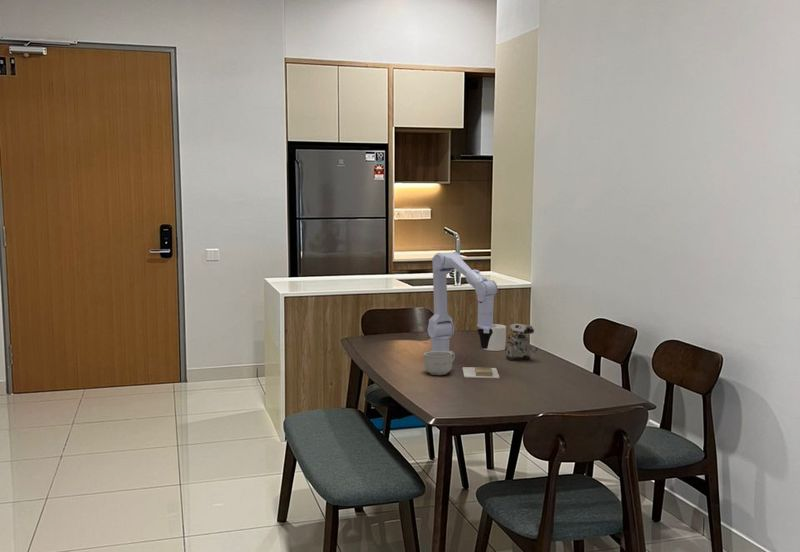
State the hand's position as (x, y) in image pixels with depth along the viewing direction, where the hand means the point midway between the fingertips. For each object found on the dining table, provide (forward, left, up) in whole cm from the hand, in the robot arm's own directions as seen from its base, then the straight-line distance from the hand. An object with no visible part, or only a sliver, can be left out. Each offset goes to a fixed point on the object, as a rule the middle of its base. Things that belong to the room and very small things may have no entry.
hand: (484, 348), depth 290 cm
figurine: (-24, +17, -10) cm, 31 cm away
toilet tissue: (-45, +7, -10) cm, 47 cm away
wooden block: (-2, 0, -9) cm, 9 cm away
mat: (-1, -1, -10) cm, 10 cm away
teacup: (0, -16, -10) cm, 19 cm away
